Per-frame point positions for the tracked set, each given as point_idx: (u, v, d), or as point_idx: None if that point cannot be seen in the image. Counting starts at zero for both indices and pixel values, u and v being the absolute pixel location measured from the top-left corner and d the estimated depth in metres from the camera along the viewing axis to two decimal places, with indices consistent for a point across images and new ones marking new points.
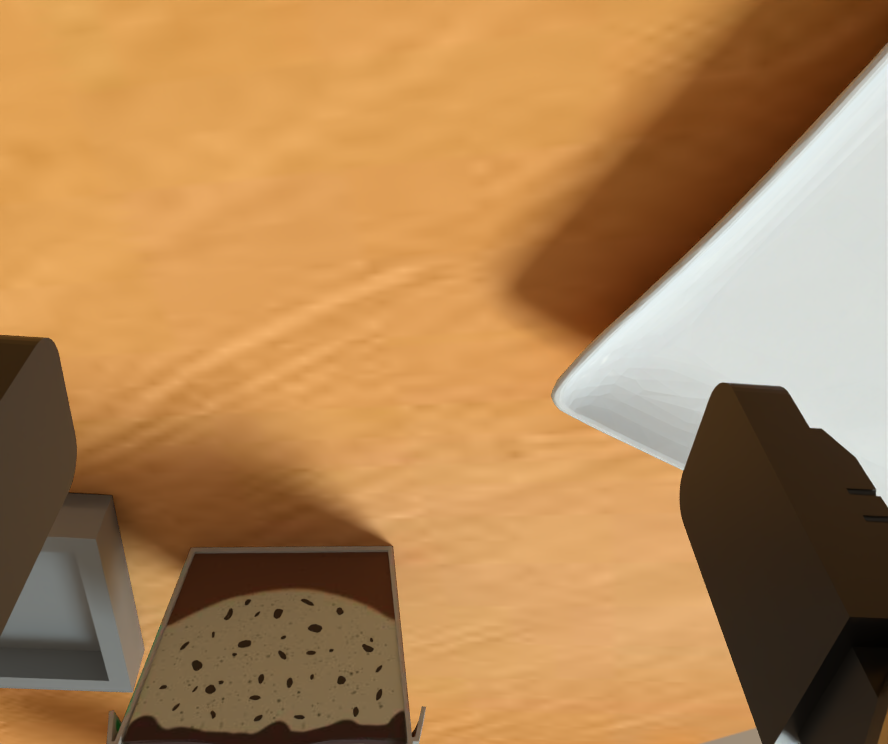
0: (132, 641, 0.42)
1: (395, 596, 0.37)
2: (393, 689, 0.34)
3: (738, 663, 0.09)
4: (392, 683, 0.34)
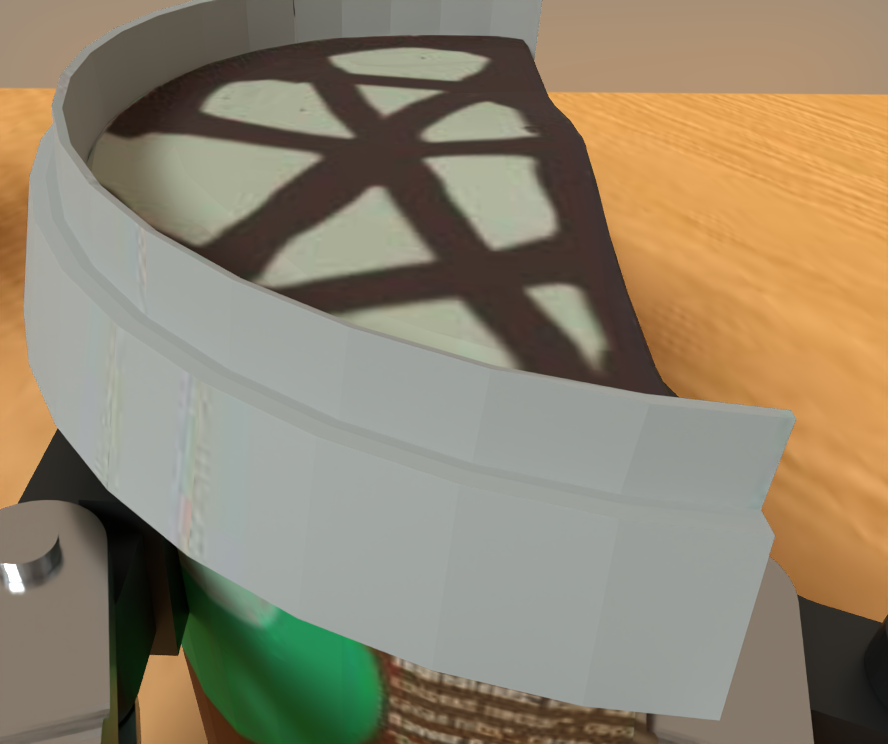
0: None
1: None
2: None
3: None
4: None
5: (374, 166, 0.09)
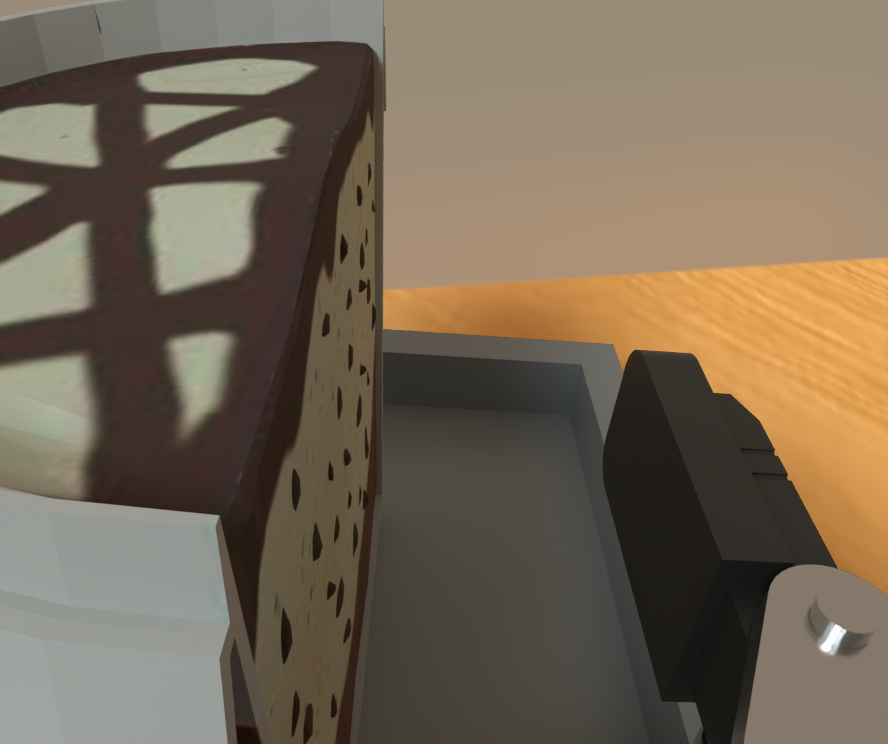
0: None
1: None
2: (271, 720, 0.06)
3: (642, 617, 0.10)
4: (275, 733, 0.06)
5: (96, 199, 0.08)
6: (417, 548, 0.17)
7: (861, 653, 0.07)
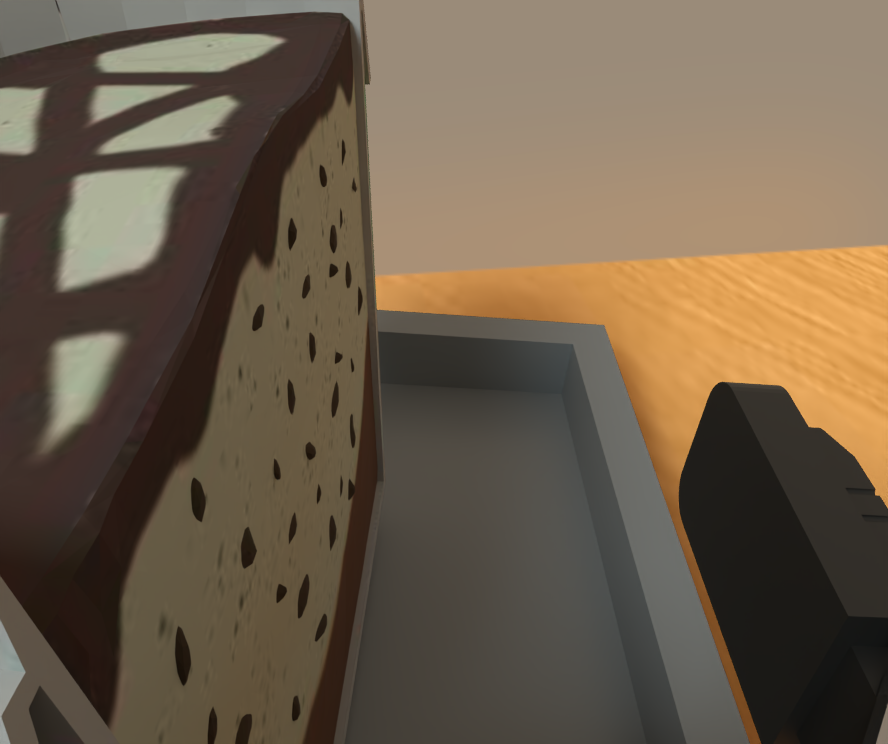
0: None
1: None
2: None
3: (737, 663, 0.09)
4: None
5: (18, 188, 0.08)
6: (413, 519, 0.18)
7: None
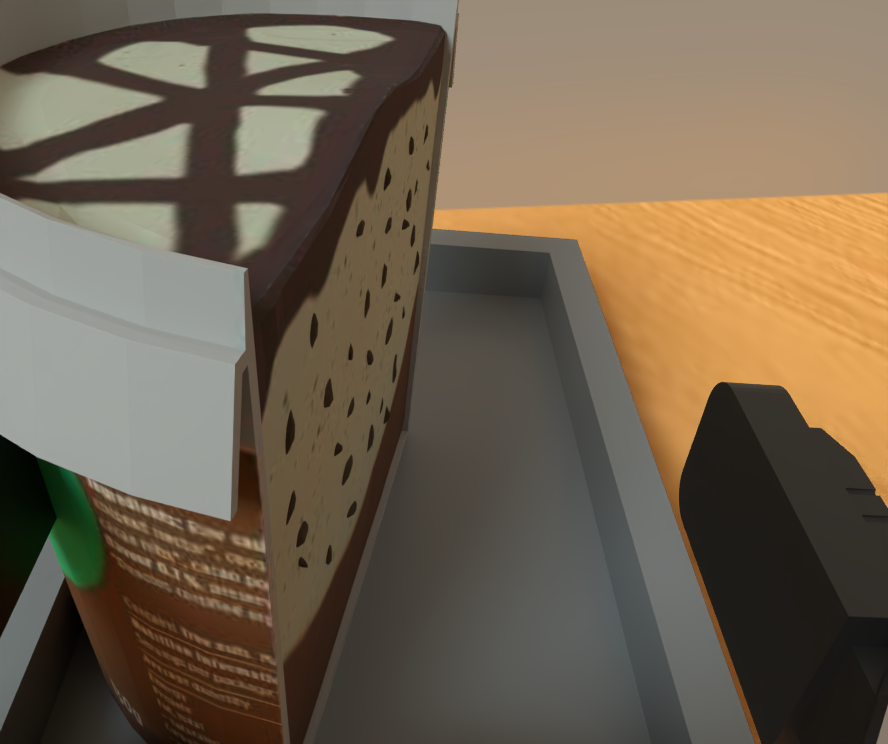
0: None
1: (286, 727, 0.11)
2: (270, 484, 0.08)
3: (737, 663, 0.09)
4: (272, 500, 0.09)
5: (199, 109, 0.11)
6: (414, 382, 0.22)
7: None
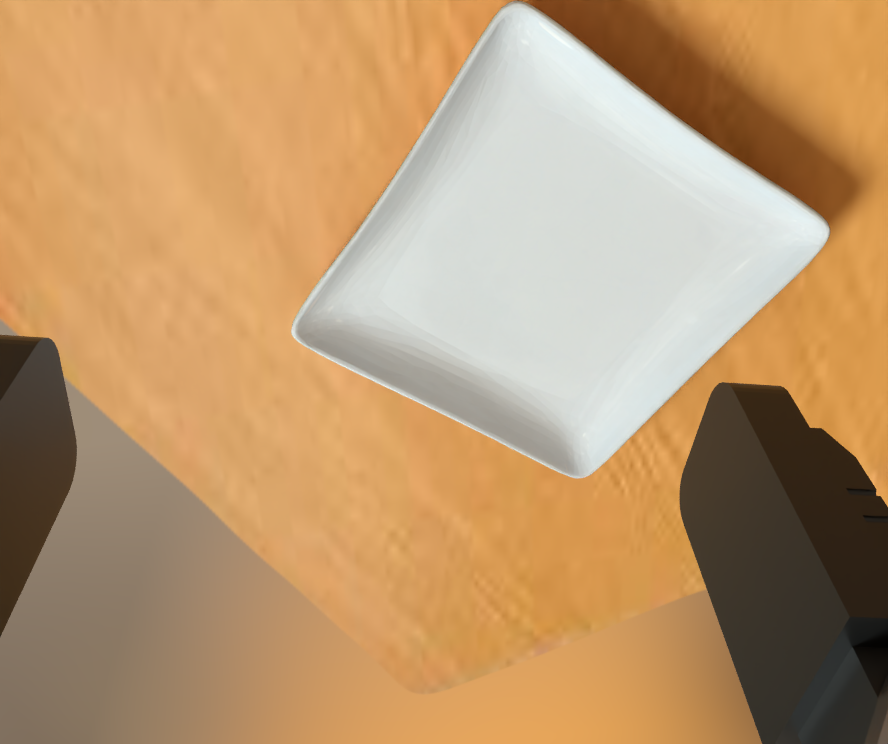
0: None
1: None
2: None
3: (738, 663, 0.09)
4: None
5: None
6: None
7: None
